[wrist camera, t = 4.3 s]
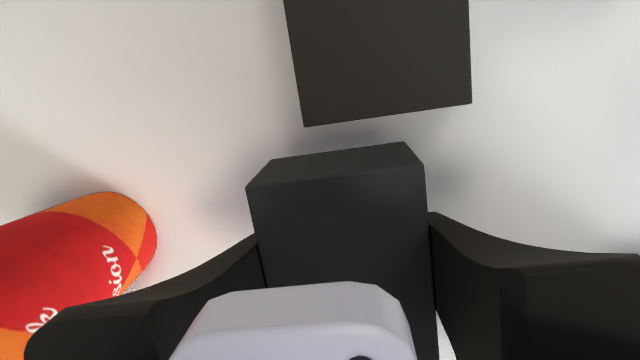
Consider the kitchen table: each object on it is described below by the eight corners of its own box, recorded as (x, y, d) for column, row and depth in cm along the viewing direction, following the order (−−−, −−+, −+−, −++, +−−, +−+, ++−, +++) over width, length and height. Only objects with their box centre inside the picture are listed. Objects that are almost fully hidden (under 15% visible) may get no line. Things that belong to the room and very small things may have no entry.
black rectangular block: (419, 296, 14) (440, 363, 11) (299, 307, 15) (285, 373, 12) (404, 140, 13) (424, 163, 9) (270, 159, 13) (243, 187, 10)
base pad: (461, 101, 18) (472, 103, 16) (307, 123, 19) (303, 127, 17) (453, -78, 16) (465, -96, 14) (281, -44, 17) (273, -57, 15)
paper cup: (122, 308, 24) (-177, 614, 10) (30, 225, 22) (-447, 450, 9) (201, 240, 22) (-38, 506, 8) (105, 146, 20) (-356, 278, 7)
